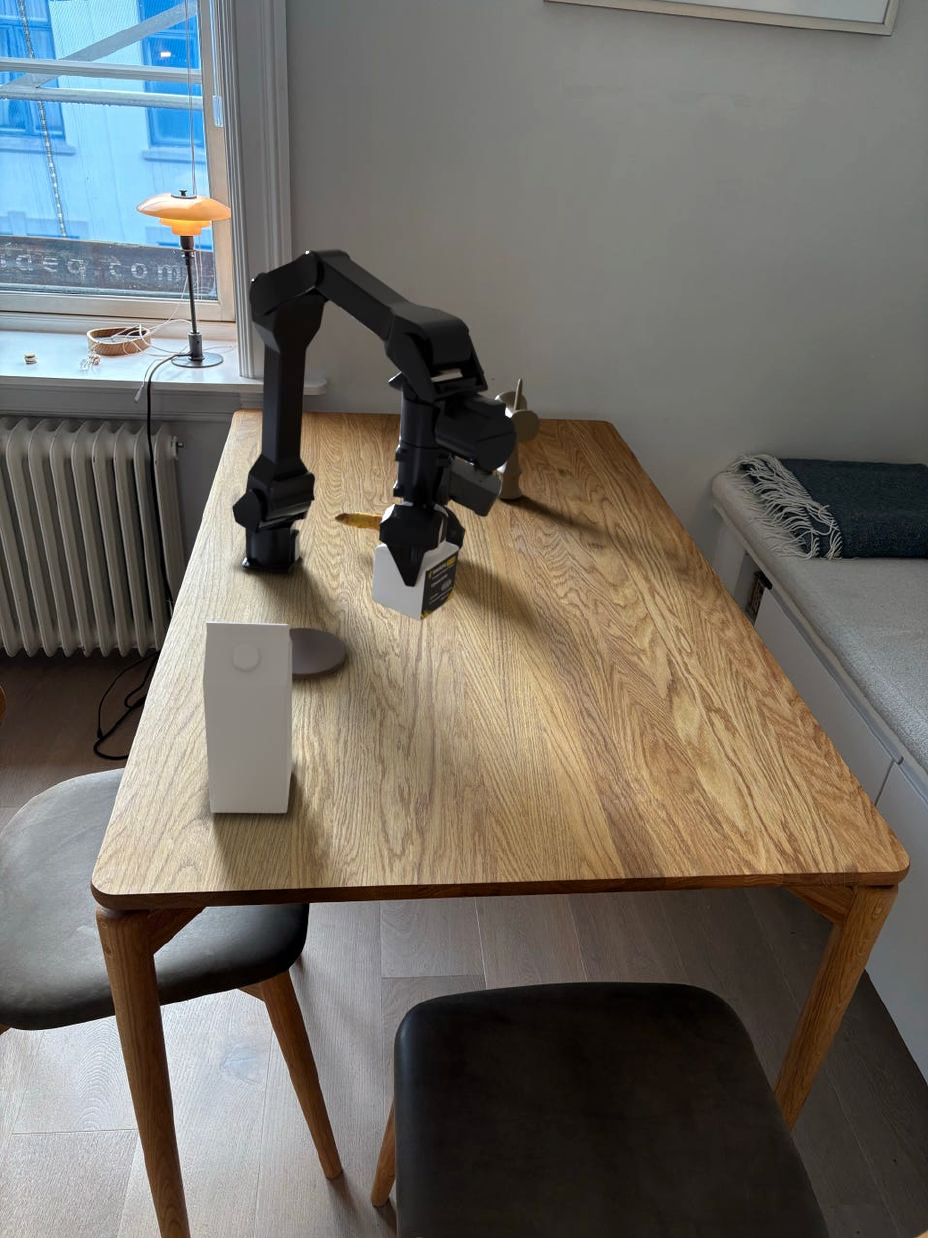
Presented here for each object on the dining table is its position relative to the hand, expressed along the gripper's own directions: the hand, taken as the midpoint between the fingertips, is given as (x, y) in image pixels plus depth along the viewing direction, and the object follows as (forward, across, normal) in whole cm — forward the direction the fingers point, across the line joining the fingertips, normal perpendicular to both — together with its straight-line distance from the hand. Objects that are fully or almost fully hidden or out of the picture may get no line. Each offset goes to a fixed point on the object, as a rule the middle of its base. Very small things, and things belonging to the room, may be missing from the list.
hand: (416, 567), depth 109 cm
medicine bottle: (+5, 0, 0) cm, 5 cm away
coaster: (+12, -3, +12) cm, 18 cm away
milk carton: (+12, -27, +11) cm, 32 cm away
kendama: (+12, +52, -8) cm, 54 cm away
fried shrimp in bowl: (+12, +28, +6) cm, 31 cm away
